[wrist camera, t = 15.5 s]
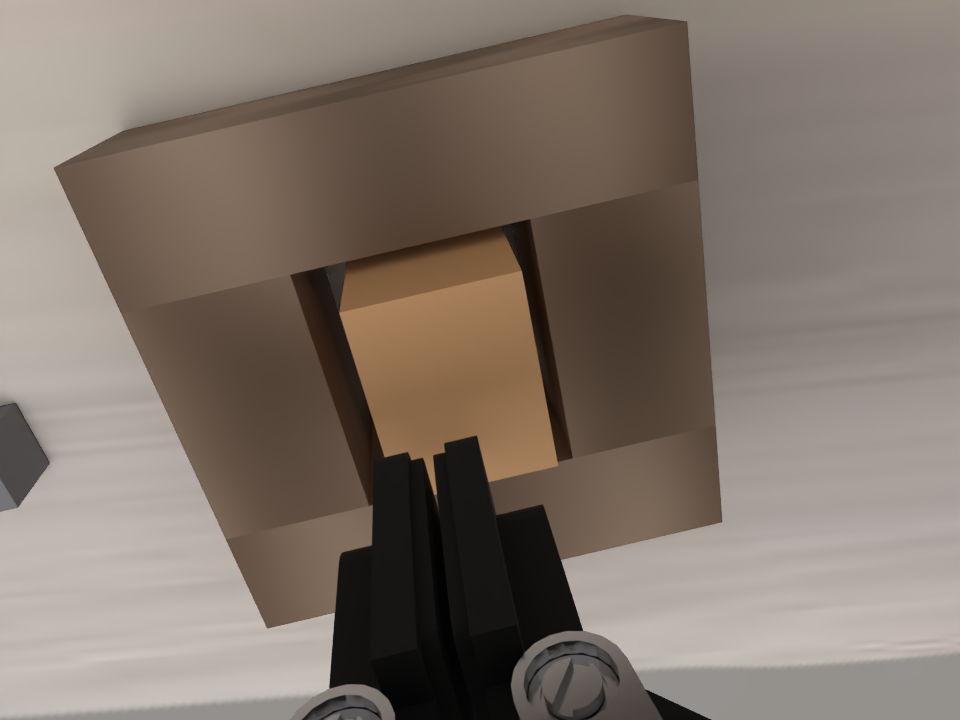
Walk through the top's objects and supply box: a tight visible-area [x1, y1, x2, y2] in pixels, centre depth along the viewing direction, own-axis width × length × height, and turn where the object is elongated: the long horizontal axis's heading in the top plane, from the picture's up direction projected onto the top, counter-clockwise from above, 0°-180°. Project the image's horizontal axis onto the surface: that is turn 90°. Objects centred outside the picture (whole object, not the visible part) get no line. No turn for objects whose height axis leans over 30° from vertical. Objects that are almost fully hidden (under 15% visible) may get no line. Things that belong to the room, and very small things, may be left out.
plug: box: [339, 226, 558, 495], centre depth 17 cm, size 3×4×6 cm
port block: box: [54, 15, 722, 628], centre depth 18 cm, size 12×12×4 cm
